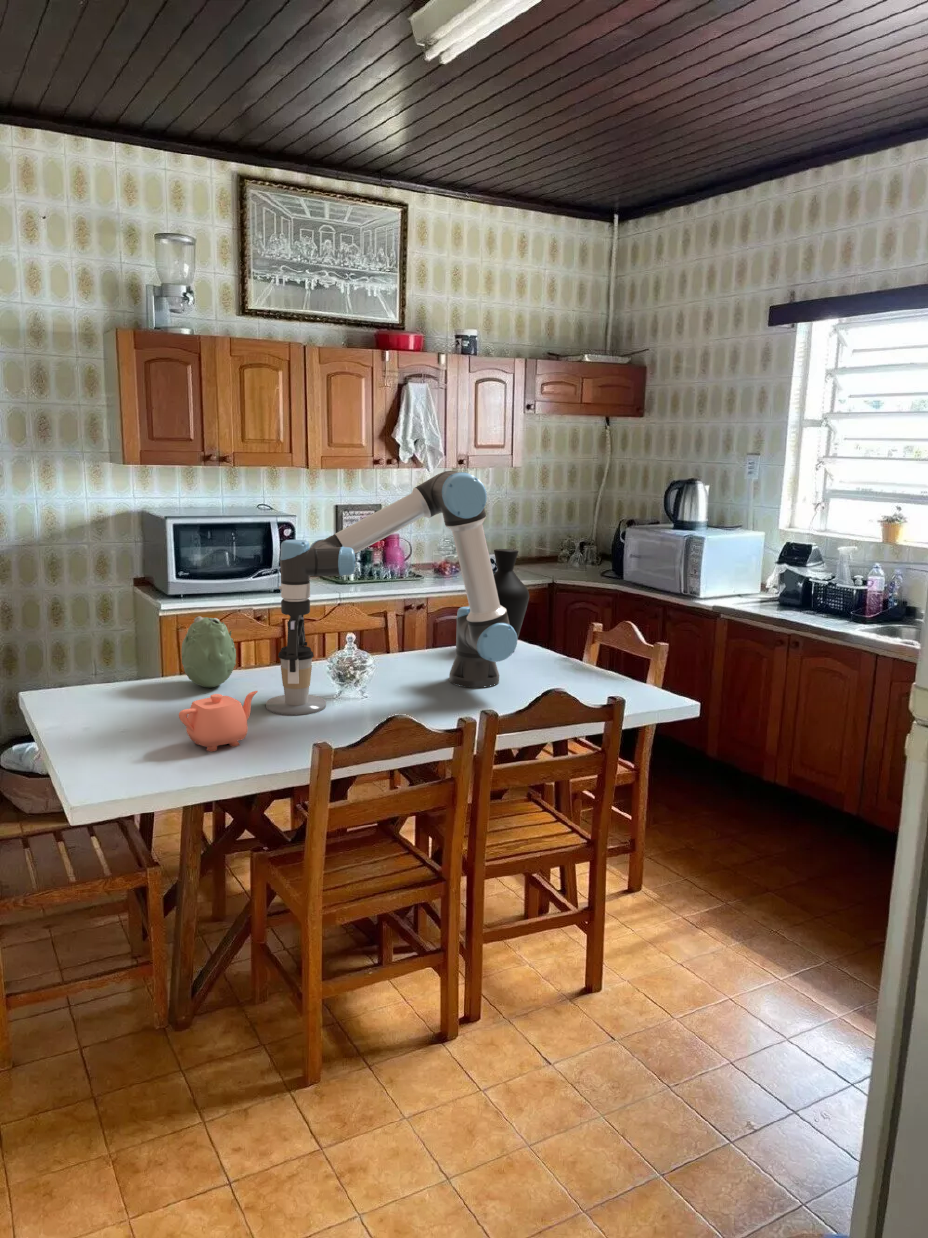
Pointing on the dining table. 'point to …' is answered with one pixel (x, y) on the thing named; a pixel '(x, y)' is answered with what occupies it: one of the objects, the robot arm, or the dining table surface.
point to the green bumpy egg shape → (208, 652)
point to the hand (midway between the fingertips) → (296, 676)
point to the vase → (510, 588)
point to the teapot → (217, 720)
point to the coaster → (281, 707)
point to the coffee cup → (300, 691)
